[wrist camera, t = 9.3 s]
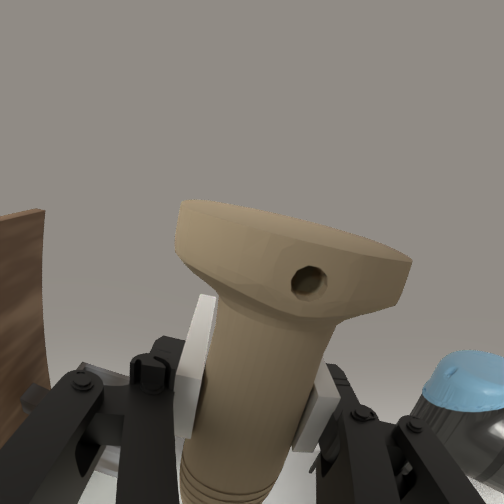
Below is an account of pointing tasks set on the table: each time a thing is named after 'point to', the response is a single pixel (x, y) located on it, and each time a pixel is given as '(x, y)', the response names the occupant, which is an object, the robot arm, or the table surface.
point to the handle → (268, 334)
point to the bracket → (30, 330)
